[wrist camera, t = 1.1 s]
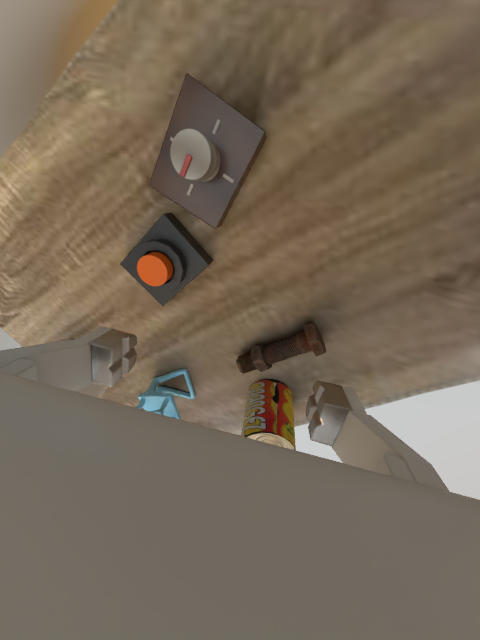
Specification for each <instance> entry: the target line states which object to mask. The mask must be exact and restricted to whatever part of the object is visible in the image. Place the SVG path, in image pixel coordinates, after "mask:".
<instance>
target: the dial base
mask: <svg viewBox="0 0 480 640" xmlns="http://www.w3.org/2000/svg"><path fill="white" fill-rule="evenodd" d="M184 129H195V130H197V131H199V132H200V133H202V134H203V135H204V136H206V137H207V138H208V139H209V140H211V141H212V142H213V143H214V144H215V145H216V147H217V149H218V151H219V154H220V168H219V171H218V173H217V175H216V176H215V177H214V178H213V179H211V180H209V181H206V182H201V181H194V180H189V179H186V178H183V177H182V176H180V175H179V173H178V172H177V171H176V170H175V168H174V166H173V164H172V161H171V156H170V148H171V144H172V141H173V139H174V137H175V136H176V134H177V133H178V132H180V131H181V130H184ZM266 138H267V137H266V132H265V131H264V130H263V129H262V128H260V127H259V126H257V125H256V124H255V123H253V122H252V121H251V120H249V119H248V118H247V117H245V116H244V115H243V114H241V113H240V112H239V111H237V110H236V109H235V108H233V107H232V106H230V105H229V104H228V103H226V102H225V101H224V100H222V99H221V98H220V97H218V96H217V95H216V94H214V93H213V92H212V91H210V90H209V89H208V88H206V87H205V86H204V85H202V84H201V83H199V82H198V81H197V80H195V79H194V78H193V77H191V76H190V75H189V74H187V73H186V76H185V79H184V82H183V85H182V88H181V91H180V94H179V97H178V100H177V103H176V106H175V109H174V112H173V115H172V118H171V121H170V124H169V127H168V130H167V133H166V136H165V139H164V142H163V145H162V148H161V151H160V154H159V157H158V160H157V163H156V166H155V169H154V172H153V175H152V178H151V181H150V184H149V186H151V187H152V188H154V189H155V190H157V191H158V192H160V193H161V194H163V195H164V196H166V197H167V198H169V199H170V200H172V201H174V202H175V203H177V204H178V205H180V206H181V207H183V208H184V209H186V210H187V211H189V212H190V213H192V214H193V215H195V216H196V217H198V218H199V219H201V220H203V221H204V222H206V223H207V224H209V225H210V226H212V227H213V228H215V229H216V228H218V227H220V226H221V225H222V223H223V221H224V219H225V217H226V215H227V213H228V211H229V209H230V207H231V205H232V203H233V201H234V199H235V198H236V196H237V194H238V192H239V190H240V188H241V186H242V184H243V182H244V180H245V178H246V176H247V174H248V172H249V171H250V169H251V167H252V165H253V163H254V161H255V159H256V157H257V155H258V153H259V151H260V149H261V147H262V145H263V144H264V142H265V140H266Z"/></svg>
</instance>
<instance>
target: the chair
mask: <svg viewBox="0 0 480 640" xmlns="http://www.w3.org/2000/svg"><path fill="white" fill-rule="evenodd" d="M181 374H184V376H185V379H186V382H187V386H188V389H189V392H190V394H189V393H186V392H182V391H178V390H175V389H171V388H167V387H162V386H159V387H157V385H158V383H160V382H163V381H166V380H169V379H171V378H174V377H176V376H179V375H181ZM156 387H157V390H156ZM155 390H156V391H155ZM173 395H175V396H179V397H183V398H188V399H194V398H195V392H194V389H193V386H192V383H191V380H190V377H189V374H188V370H187V369H186V368H184V369H180V370H177V371H174V372H171V373H169V374H166V375H163V376H159V377H155V378H154V379H153V381H152V383H151V385H150V387H149V388H148V390H147V391H146V392H144V393H140V395H139V396H138V398H139V400H140V404H139V405H138V406H137V407H136V408H138V409H141V408H142V407H144V409H145V410H146V411H149V412H153V413H157V414H161V415H164V416H168V417H172V418H176V419H179V420H180V419H181V416H180V414H179V411H178V410H177V407H176V404H175V401H174V398H173Z"/></svg>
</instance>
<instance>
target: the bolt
mask: <svg viewBox="0 0 480 640" xmlns="http://www.w3.org/2000/svg"><path fill="white" fill-rule="evenodd" d="M303 327H304V331H303V332H301V333H298V334H297V335H295V336H292V337H290V338H288V339H287V338H286V339H284V340H282V341H279V342H277V343H273V344H271V345H268V346H265V345H263V344H261V345H259V346H256V347H254V348H252V350H251V352H250V353H247V354H245V355H242V356H239V357H238V360H237V361H236V363H237V365H238V368H239V370H240V372H242V373H247V372H249V371H253V370H256V369H258V370H259V371H261V372H262V371H265V370H268V369H270V368H271V367H272V364H273V363H276V362H278V361H282V360H285V359H287V358H291V357H293V356H297V355H299V354H303V353H307V352H310V351H313V352H314V354H315V356H318V355H321V354H324V353H325V352H326V348H325V344H324V341H323V339H322V336H321V334H320V332H319V330H318V328H317V326H316V324H315V323H314V322H312V323H310V324H307V325H304V326H303Z"/></svg>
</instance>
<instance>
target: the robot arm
mask: <svg viewBox="0 0 480 640" xmlns="http://www.w3.org/2000/svg"><path fill="white" fill-rule="evenodd" d="M136 344H137V337H136V336H135V335H134V334H130V333H126V332H123V331H119V330H115V329H112V328H107V327H100V328H98V329H96V330H94V331H92V332H90V333H88V334H86V335H85V336H83V337H81V338H79V339H77V340H66V341H60V342H53V343H47V344H41V345H34V346H28V347H21V348H15V349H9V350H2V351H0V640H480V500H478V499H474V498H470V497H466V496H462V495H459V494H455V493H452V492H449V490H448V489H447V487H446V486H445V484H444V483H443V481H442V480H441V478H440V477H439V475H438V474H437V472H436V471H435V469H434V468H433V466H432V465H431V464H430V463H429V462H427V461H426V460H425V459H424V458H423V457H421V456H420V455H419V454H418V453H416V452H415V451H414V450H413V449H411V448H410V447H409V446H408V445H407V444H405V443H404V442H403V441H402V440H400V439H399V438H398V437H397V436H395V435H394V434H393V433H391V432H390V431H389V430H388V429H387V428H385V427H384V426H383V425H382V424H381V423H379V422H378V421H377V420H376V419H374V418H373V417H372V416H370V415H367V414H366V412H365V410H364V408H363V406H362V404H361V402H360V400H359V398H358V396H357V394H356V392H355V390H354V389H353V388H349V387H345V386H340V385H336V384H331V383H327V382H322V381H316V382H315V384H314V386H313V392H314V394H313V395H311V396H310V397H309V399H308V402H307V407H306V416H307V419H308V421H309V422H310V424H309V426H308V428H309V434H310V439H311V440H312V441H316V442H319V443H322V444H326V445H330V446H332V448H333V450H334V451H335V452H336V454H337V455H338V456H339V458H340V459H341V461H342V462H343V463H340V462H336V461H333V460H329V459H325V458H321V457H317V456H314V455H310V454H306V453H302V452H299V451H295V450H292V449H288V448H284V447H280V446H277V445H273V444H269V443H265V442H262V441H258V440H254V439H250V438H247V437H243V436H239V435H235V434H232V433H228V432H224V431H220V430H217V429H213V428H209V427H205V426H202V425H198V424H194V423H191V422H187V421H183V420H179V419H176V418H172V417H168V416H164V415H161V414H157V413H153V412H149V411H146V410H142V409H138V408H134V407H131V406H127V405H123V404H120V403H116V402H112V401H108V400H105V399H101V398H97V397H93V396H90V395H86V394H82V393H78V392H75V391H76V390H79V389H81V388H84V387H86V386H88V385H91V384H92V383H94V384H99V385H103V386H107V387H111V388H112V387H113V386H114V385H115V384H116V383H117V382H118V381H119V380H120V379H122V374H125V373H128V372H129V371H130V370H131V369H132V367H133V365H134V364H135V360H136V351H135V349H134V347H135V345H136Z"/></svg>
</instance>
